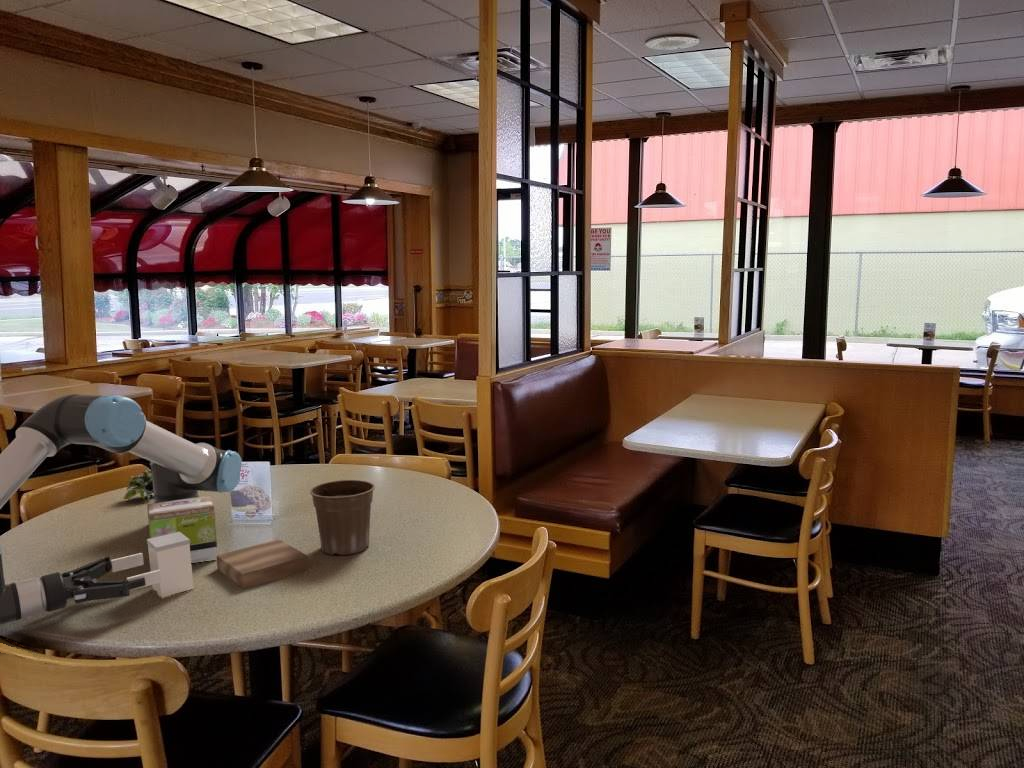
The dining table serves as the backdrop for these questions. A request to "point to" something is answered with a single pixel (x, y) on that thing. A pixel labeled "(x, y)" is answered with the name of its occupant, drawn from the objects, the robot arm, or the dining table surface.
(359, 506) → the plant pot
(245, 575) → the block
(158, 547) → the white lidded box
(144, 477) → the green leafy plant
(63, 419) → the robot arm
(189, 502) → the tea box
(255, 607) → the dining table surface
